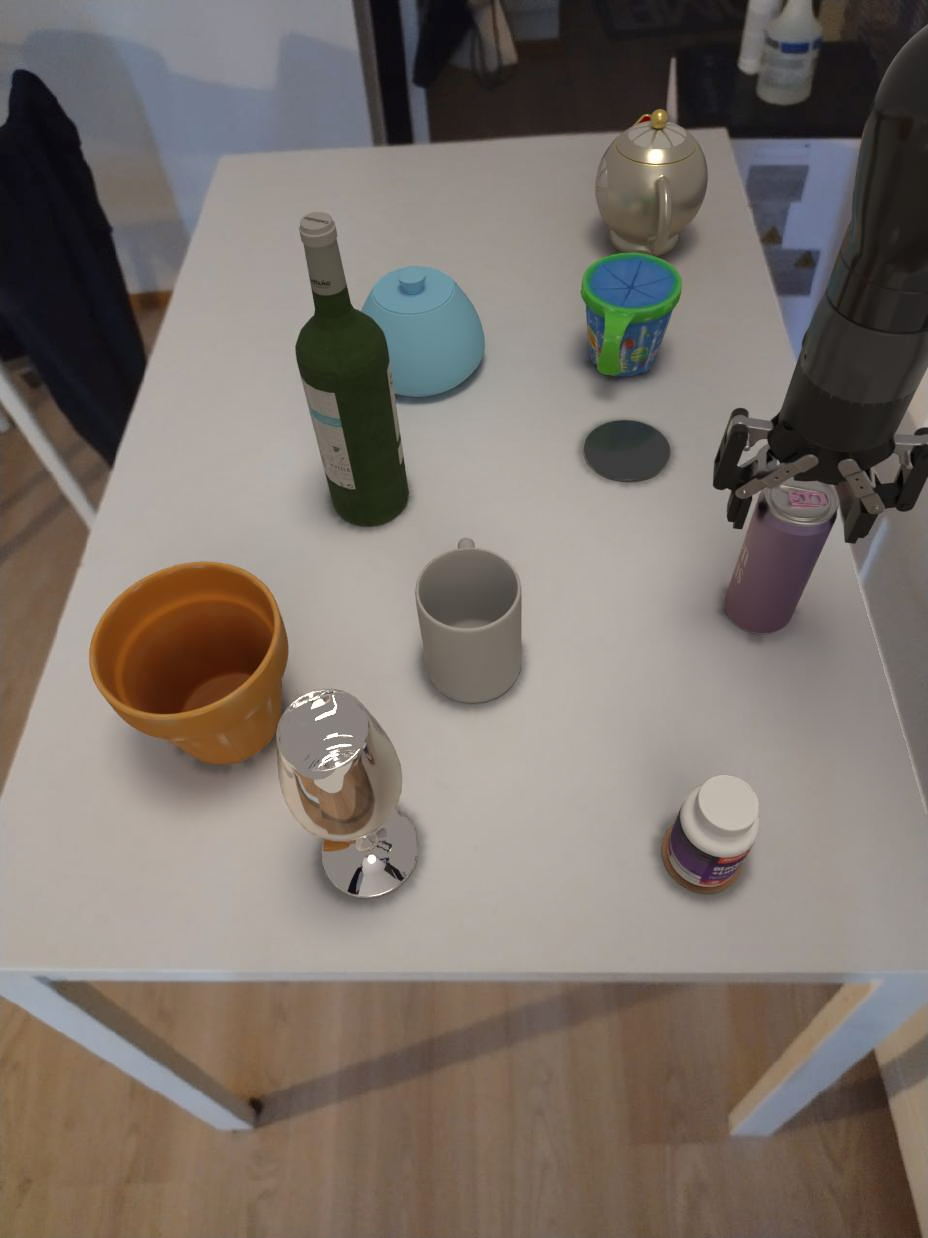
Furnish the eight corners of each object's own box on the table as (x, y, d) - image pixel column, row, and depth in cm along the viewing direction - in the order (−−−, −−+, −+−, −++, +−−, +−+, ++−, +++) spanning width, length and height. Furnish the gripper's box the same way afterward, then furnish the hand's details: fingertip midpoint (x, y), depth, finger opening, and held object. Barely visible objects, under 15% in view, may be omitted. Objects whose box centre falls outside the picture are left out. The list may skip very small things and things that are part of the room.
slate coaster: (672, 426, 92) (673, 424, 92) (666, 486, 87) (666, 484, 87) (589, 417, 94) (589, 415, 94) (578, 476, 89) (578, 474, 89)
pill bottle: (711, 904, 63) (739, 857, 55) (651, 854, 65) (670, 803, 57) (753, 852, 65) (786, 800, 57) (694, 805, 67) (718, 749, 59)
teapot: (584, 214, 117) (593, 84, 104) (685, 207, 117) (706, 76, 103) (601, 293, 107) (613, 159, 93) (711, 286, 106) (739, 151, 93)
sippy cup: (642, 413, 94) (654, 334, 85) (553, 388, 97) (556, 309, 89) (688, 331, 102) (703, 251, 93) (604, 310, 105) (611, 231, 96)
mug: (525, 700, 74) (527, 628, 65) (426, 707, 74) (414, 635, 65) (514, 590, 81) (514, 510, 72) (424, 596, 81) (412, 517, 72)
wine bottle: (424, 488, 89) (389, 208, 64) (378, 538, 85) (323, 262, 61) (363, 461, 92) (308, 182, 67) (317, 508, 88) (241, 232, 64)
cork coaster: (743, 824, 66) (744, 823, 66) (740, 900, 63) (741, 899, 63) (664, 810, 67) (665, 809, 67) (658, 885, 64) (658, 883, 64)
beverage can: (792, 641, 76) (845, 528, 64) (723, 634, 77) (762, 521, 64) (788, 587, 79) (838, 471, 67) (722, 581, 80) (759, 465, 68)
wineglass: (309, 893, 65) (240, 782, 49) (332, 797, 69) (275, 666, 53) (411, 906, 64) (374, 797, 48) (427, 808, 69) (399, 678, 52)
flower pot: (230, 625, 80) (186, 533, 69) (346, 698, 75) (318, 611, 64) (115, 739, 74) (47, 657, 63) (234, 827, 68) (182, 754, 58)
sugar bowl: (386, 314, 106) (374, 225, 97) (502, 334, 103) (500, 244, 93) (337, 391, 98) (318, 302, 89) (460, 416, 95) (453, 326, 86)
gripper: (745, 387, 54) (698, 552, 67) (989, 411, 52) (890, 577, 65) (748, 314, 58) (703, 483, 71) (973, 333, 56) (884, 504, 69)
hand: (792, 528), depth 68 cm, fingers open, 8 cm apart
